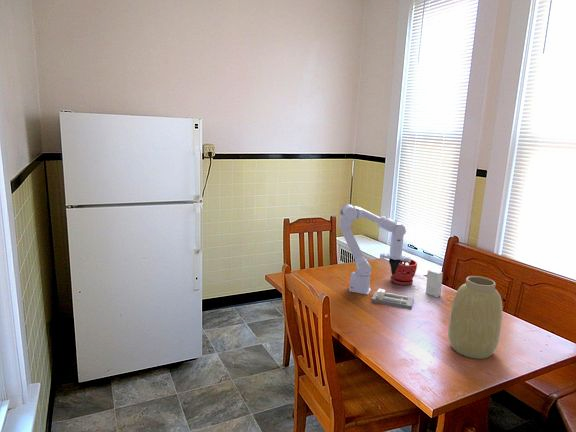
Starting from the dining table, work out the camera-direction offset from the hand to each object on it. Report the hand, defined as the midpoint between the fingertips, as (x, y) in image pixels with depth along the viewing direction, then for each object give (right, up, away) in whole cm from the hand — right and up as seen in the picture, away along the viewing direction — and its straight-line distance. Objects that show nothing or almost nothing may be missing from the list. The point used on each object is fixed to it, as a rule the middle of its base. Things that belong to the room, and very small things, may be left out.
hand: (393, 273), depth 202 cm
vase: (+16, -21, -50) cm, 56 cm away
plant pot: (+8, -7, +15) cm, 19 cm away
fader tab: (-8, -9, -8) cm, 15 cm away
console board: (-3, -12, -10) cm, 15 cm away
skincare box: (+19, -11, +1) cm, 22 cm away
